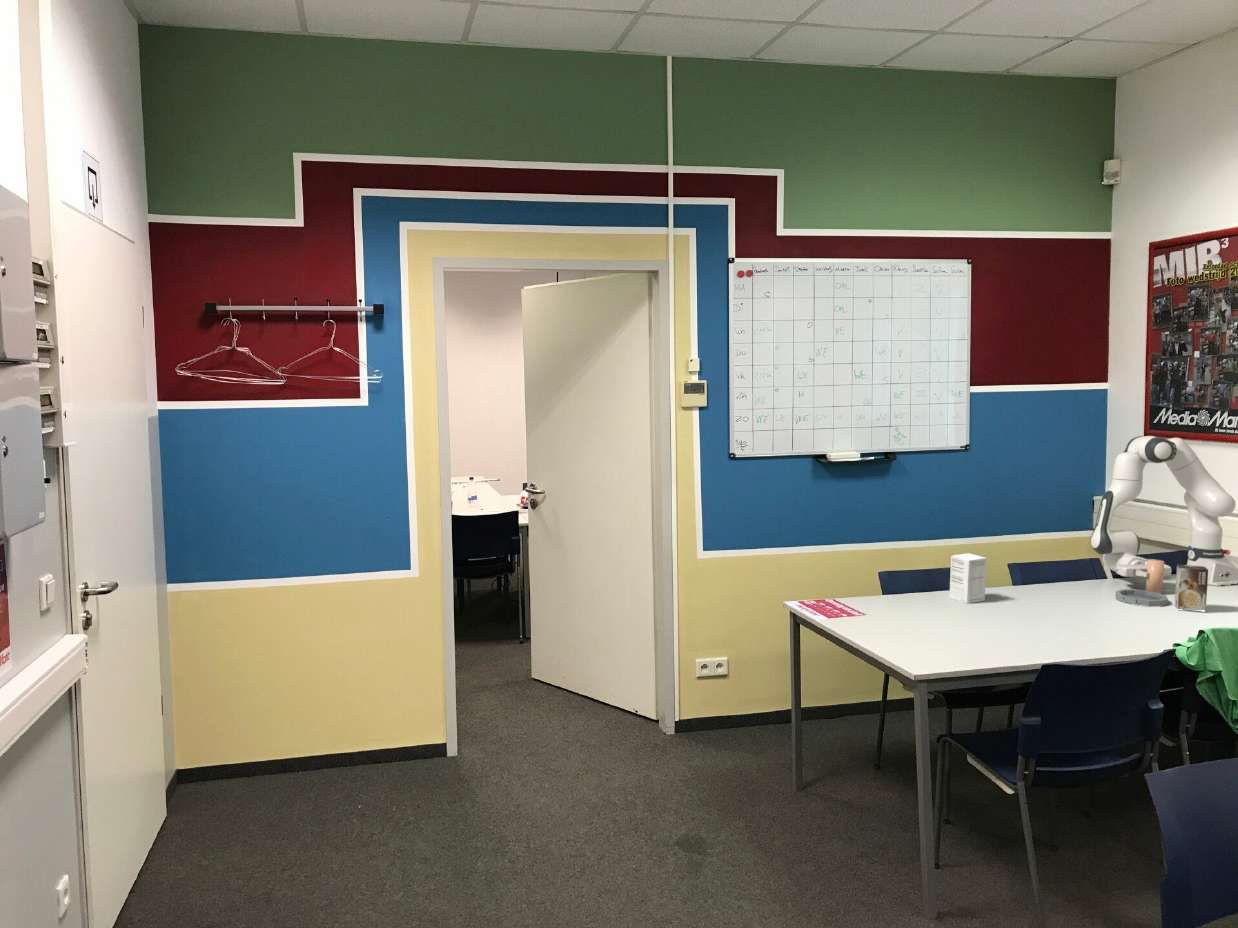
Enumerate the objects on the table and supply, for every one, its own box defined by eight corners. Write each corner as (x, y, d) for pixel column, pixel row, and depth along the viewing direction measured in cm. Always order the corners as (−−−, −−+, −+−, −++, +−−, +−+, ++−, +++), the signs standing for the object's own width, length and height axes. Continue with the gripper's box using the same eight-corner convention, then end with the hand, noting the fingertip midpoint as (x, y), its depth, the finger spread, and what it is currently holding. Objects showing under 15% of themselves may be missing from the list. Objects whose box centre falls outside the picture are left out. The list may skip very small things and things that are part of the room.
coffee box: (1202, 608, 340) (1205, 566, 338) (1205, 613, 334) (1209, 569, 332) (1173, 605, 343) (1176, 563, 341) (1176, 610, 337) (1180, 567, 335)
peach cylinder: (1155, 591, 364) (1158, 559, 363) (1165, 594, 359) (1167, 562, 357) (1142, 591, 364) (1144, 559, 362) (1151, 595, 358) (1154, 562, 357)
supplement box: (966, 595, 357) (969, 552, 355) (985, 601, 349) (987, 557, 347) (948, 598, 353) (950, 555, 351) (966, 603, 345) (969, 559, 343)
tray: (1147, 594, 360) (1148, 588, 359) (1177, 606, 343) (1177, 600, 343) (1106, 595, 358) (1106, 589, 358) (1134, 606, 341) (1134, 601, 341)
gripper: (1110, 559, 372) (1131, 567, 358) (1157, 558, 374) (1181, 566, 360) (1108, 574, 373) (1130, 583, 359) (1156, 574, 375) (1180, 582, 361)
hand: (1156, 575), depth 360 cm, fingers closed on peach cylinder, 6 cm apart
